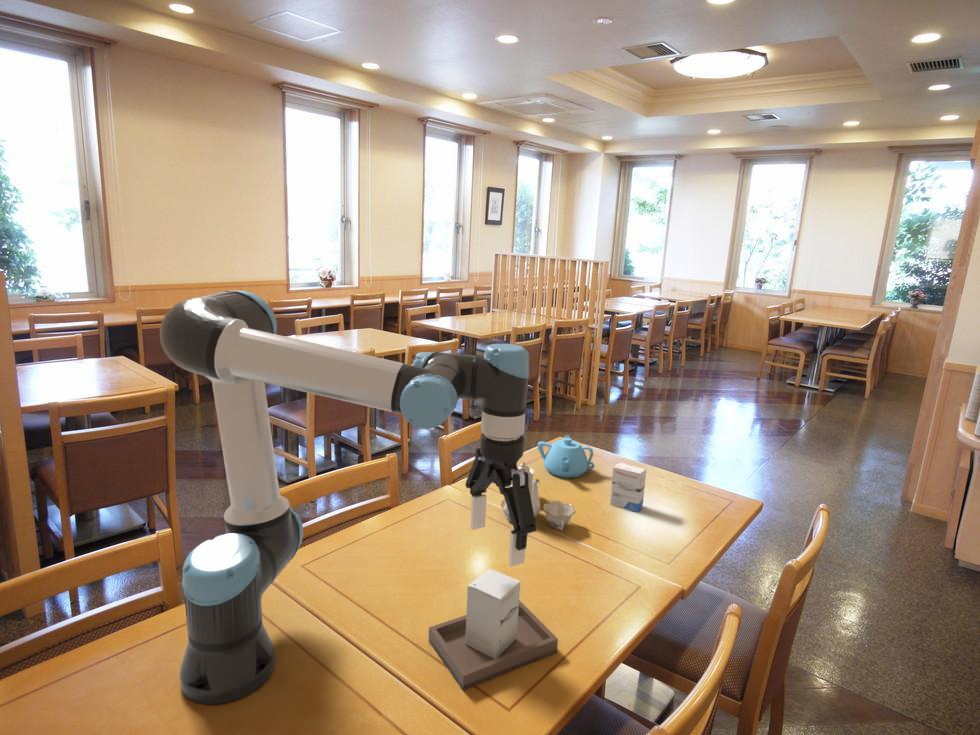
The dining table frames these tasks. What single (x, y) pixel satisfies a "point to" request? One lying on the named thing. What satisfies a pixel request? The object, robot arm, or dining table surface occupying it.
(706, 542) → the dining table surface
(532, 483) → the chinaware
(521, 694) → the dining table surface
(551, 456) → the teapot
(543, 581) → the dining table surface
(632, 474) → the ink box
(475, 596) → the supplement box
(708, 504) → the dining table surface
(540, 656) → the tray
